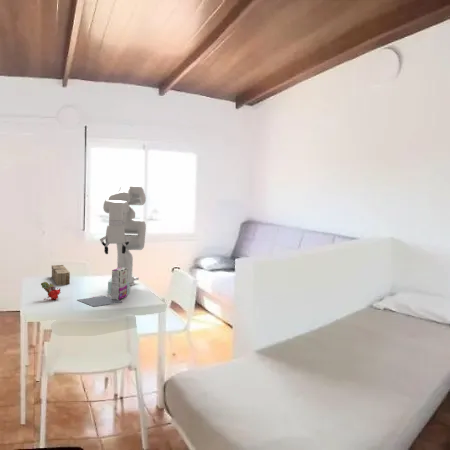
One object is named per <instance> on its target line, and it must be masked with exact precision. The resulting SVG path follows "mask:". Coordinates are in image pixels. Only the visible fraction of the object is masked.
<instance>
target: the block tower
mask: <svg viewBox="0 0 450 450" xmlns="http://www.w3.org/2000/svg"><path fill="white" fill-rule="evenodd" d="M51 278H52V279H53V281H54V282H55V284H56V285H57V286H62V285H70V284H71V283H70V280H71V273H70V271H69V270H68V268H66V266H65V265H64V264H56V265H55V264H54V265H51Z"/></svg>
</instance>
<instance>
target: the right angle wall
mask: <svg viewBox="0 0 450 450" xmlns="http://www.w3.org/2000/svg"><path fill="white" fill-rule="evenodd" d="M111 290H112V277H111V278H110V279H109V280H108V282H107V294H108V295H111ZM127 295H130V286H129V282H127Z"/></svg>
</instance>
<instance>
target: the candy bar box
mask: <svg viewBox="0 0 450 450" xmlns="http://www.w3.org/2000/svg"><path fill="white" fill-rule="evenodd" d="M127 275H128V268H122V267H120V268H117V267H116V268H115V269H112V270H111V278H112V290H111V294H110V295H111V296H110V298H111V299H112V300H119V301H121V300H123V299H124V298H126V297H127V296H128V294H127Z"/></svg>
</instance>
